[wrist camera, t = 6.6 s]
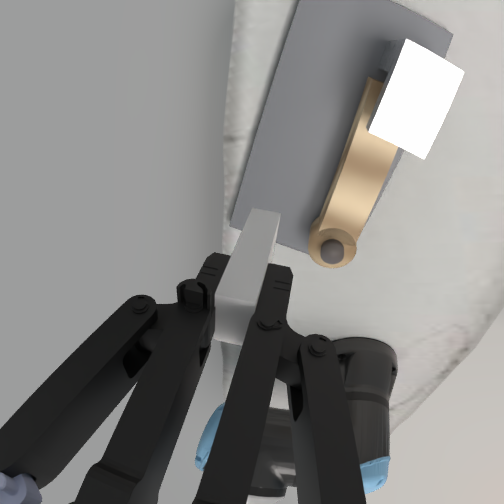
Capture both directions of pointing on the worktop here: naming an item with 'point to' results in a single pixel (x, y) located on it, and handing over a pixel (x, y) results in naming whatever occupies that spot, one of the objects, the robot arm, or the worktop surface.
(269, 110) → the board
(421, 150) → the block
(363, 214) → the brass link
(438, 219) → the worktop surface
